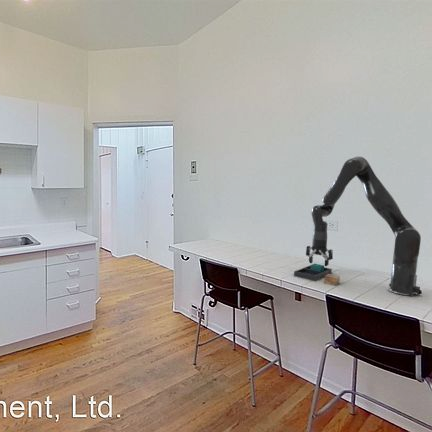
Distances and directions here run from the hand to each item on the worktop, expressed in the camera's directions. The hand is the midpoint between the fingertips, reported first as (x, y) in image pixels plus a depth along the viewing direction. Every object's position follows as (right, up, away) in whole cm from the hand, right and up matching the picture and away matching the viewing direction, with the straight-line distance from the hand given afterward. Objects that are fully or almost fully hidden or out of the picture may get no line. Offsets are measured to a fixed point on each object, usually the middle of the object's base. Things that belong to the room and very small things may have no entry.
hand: (318, 264), depth 182 cm
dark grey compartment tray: (-5, -6, -3) cm, 8 cm away
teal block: (-1, -4, +1) cm, 5 cm away
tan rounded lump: (-3, -7, -17) cm, 19 cm away
